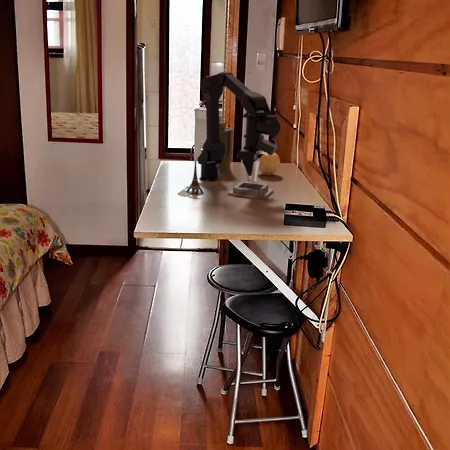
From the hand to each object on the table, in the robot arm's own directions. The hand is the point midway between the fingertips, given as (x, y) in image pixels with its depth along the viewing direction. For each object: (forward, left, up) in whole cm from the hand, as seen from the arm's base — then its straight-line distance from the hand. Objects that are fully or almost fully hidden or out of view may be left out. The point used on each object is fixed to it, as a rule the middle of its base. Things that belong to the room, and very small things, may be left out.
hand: (251, 174), depth 205 cm
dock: (0, 0, -7) cm, 7 cm away
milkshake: (0, 0, -3) cm, 3 cm away
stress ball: (-2, +31, -7) cm, 32 cm away
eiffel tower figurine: (-19, -9, -8) cm, 22 cm away
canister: (-23, +30, -7) cm, 38 cm away
